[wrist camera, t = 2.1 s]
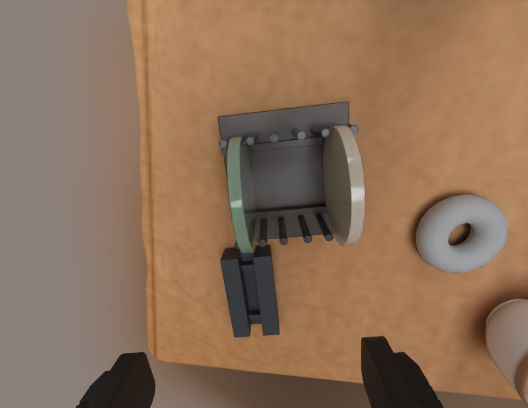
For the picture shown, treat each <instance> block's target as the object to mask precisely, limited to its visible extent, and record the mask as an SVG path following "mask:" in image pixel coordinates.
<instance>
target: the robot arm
mask: <svg viewBox="0 0 528 408" xmlns="http://www.w3.org/2000/svg"><path fill="white" fill-rule="evenodd" d="M361 372H362V378H363V383H364V386H365V390H366V393H367V396H368V398H369V401H370V404H371V407H372V408H444V407H443V406H442V404H441V402H440V401H439V400H438V399H437V396H436V394H435V392H434V391H433V389H432V387H431V386H430V385H429V382H428V381H427V379H426V377H425V376H424V374H423V372H422V371H421V369H420V367H419V366H418V365H417V364H416V363H415V362H414V361H413V360H412V359H411V358H410V357H409V356H408V355H406V354H405V353H404V352H399V353H393V351H392V349H391V347H390V345H389V343H388V341H387V340H386V338H385V337H384V336H378V337H364V338H362V339H361ZM154 394H155V380H154V377H153V374H152V371H151V368H150V365H149V362H148V359H147V356H146V354H145V353H144V352H138V353H124V354H122V355H120V356H119V358H118V359H117V361H116V362H115V364H114V366H113V367H112V368H111V370H110V371H105V372H104V373H103V374H102V375H101V376H100V377H99V378H98V379H97V380H96V381H95V382H94V383H93V384H92V385H91V386H90V387H89V389H88V390H87V392H86V393H85V395H84V396H83V398H82V399H81V401H80V404H79V405H77V406H76V408H150V406H151V404H152V401H153V398H154Z"/></svg>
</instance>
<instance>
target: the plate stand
mask: <svg viewBox="0 0 528 408" xmlns="http://www.w3.org/2000/svg"><path fill="white" fill-rule="evenodd" d="M220 261H221V266H222V272H223V278H224V283H225V289H226V294H227V300H228V305H229V311H230V316H231V322H232V327H233V333H234V337H248V336H250V332H251V324H261V323H262V329H263V335H264V336H265V335H279V334H280V333H279V318H278V309H277V300H276V291H275V282H274V273H273V264H272V255H271V248H270V245H266V246H264V247H261V246H256V250H255V253H250V254H243V253H242V252H241V251H240V249H237V248H230V249H225V251H224V252H223V255H222V257H221V260H220Z"/></svg>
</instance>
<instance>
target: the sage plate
mask: <svg viewBox="0 0 528 408" xmlns="http://www.w3.org/2000/svg"><path fill="white" fill-rule="evenodd" d="M227 178H228V192H229V202H230V210H231V217H232V222H233V228H234V232H235V236H236V240H237V243H238V246H239V249H240V251H241V252H242V253H243V254H250V253H255V250H256V245H257V216H256V202H255V191H254V182H253V175H252V168H251V162H250V157H249V152H248V148H247V144H246V141H245V139H244V137H243V136H237V137H231V138H230V141H229V144H228V153H227Z"/></svg>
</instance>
